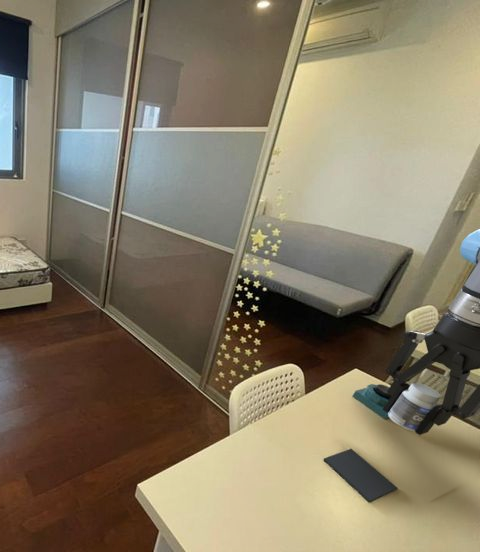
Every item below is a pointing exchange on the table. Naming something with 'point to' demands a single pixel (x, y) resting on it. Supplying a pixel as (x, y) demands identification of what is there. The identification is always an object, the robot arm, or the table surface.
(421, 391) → the pill bottle
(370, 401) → the button box
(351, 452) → the mat
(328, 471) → the table surface
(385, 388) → the button
